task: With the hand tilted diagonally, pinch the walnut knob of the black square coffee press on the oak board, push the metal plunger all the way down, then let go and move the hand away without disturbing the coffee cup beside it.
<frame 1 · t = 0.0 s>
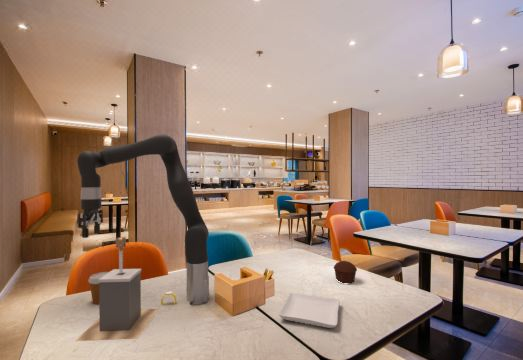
hand: (91, 235, 114), 29 cm above the table, tool pointing down, fingers open, 8 cm apart
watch: (168, 306, 111), on the table
plunger: (121, 266, 97), point 22 cm above the table, slide at 7.0 cm
disposable coffee cup: (101, 303, 115), on the table
oak board: (121, 325, 97), on the table
press: (121, 323, 97), resting on oak board
salad plate: (310, 315, 105), on the table
muffin: (345, 281, 138), on the table
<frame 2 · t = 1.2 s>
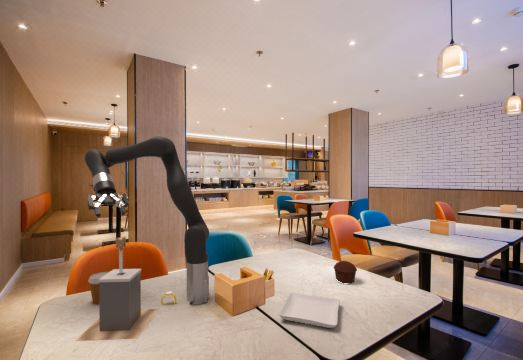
hand: (111, 215, 105), 39 cm above the table, tool tilted 45°, fingers open, 8 cm apart
nothing on the table moved.
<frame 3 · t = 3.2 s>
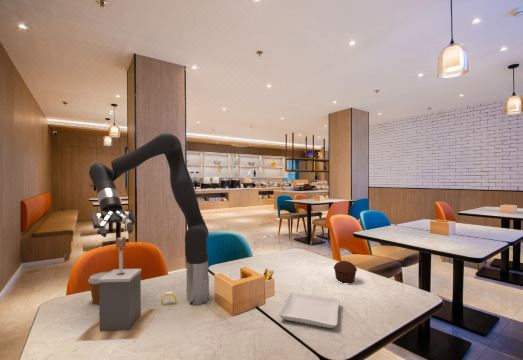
hand: (118, 234, 99), 33 cm above the table, tool tilted 45°, fingers open, 8 cm apart
nothing on the table moved.
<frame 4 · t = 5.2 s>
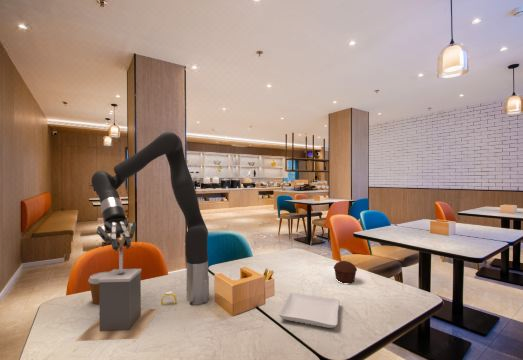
hand: (122, 248, 95), 29 cm above the table, tool tilted 45°, fingers closed on plunger, 3 cm apart
plunger: (121, 266, 97), point 22 cm above the table, slide at 7.0 cm, touching gripper
everything else where it was.
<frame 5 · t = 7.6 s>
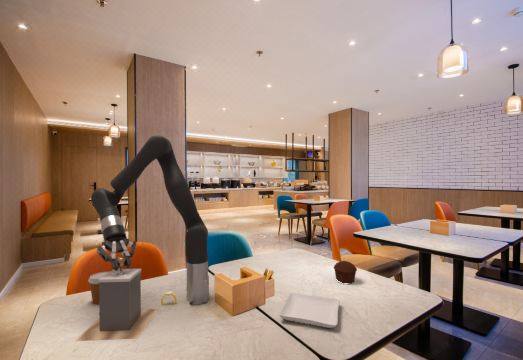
hand: (122, 268, 95), 22 cm above the table, tool tilted 45°, fingers closed on plunger, 3 cm apart
plunger: (121, 285, 97), point 15 cm above the table, slide at -0.2 cm, touching gripper
everything else where it was.
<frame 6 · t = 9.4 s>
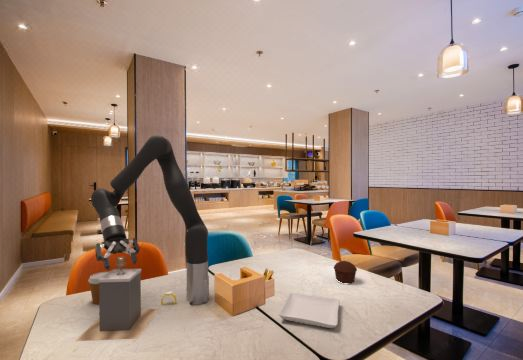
hand: (122, 266, 96), 22 cm above the table, tool tilted 45°, fingers open, 8 cm apart
plunger: (121, 285, 97), point 15 cm above the table, slide at -0.1 cm
everything else where it was.
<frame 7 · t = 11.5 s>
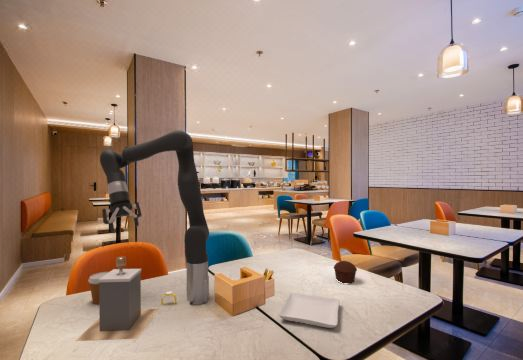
hand: (125, 229, 109), 33 cm above the table, tool tilted 25°, fingers open, 8 cm apart
nothing on the table moved.
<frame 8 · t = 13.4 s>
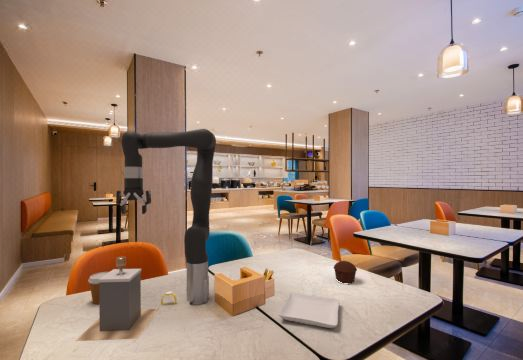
hand: (133, 213, 117), 38 cm above the table, tool pointing down, fingers open, 8 cm apart
nothing on the table moved.
at the end: plunger slide at -0.1 cm; disposable coffee cup moved 0.2 cm from its start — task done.
